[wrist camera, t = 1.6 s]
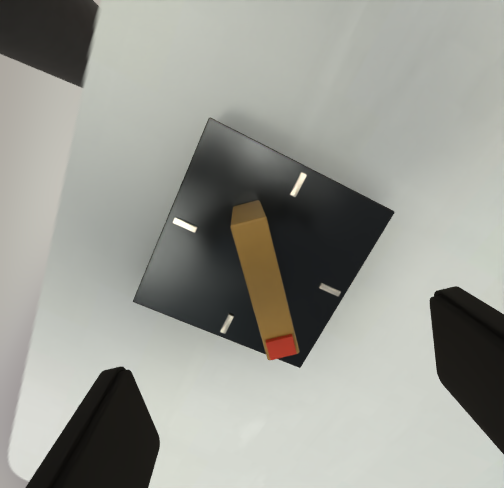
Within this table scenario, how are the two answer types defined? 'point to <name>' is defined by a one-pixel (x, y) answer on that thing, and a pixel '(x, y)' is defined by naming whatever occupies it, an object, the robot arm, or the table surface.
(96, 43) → the table surface
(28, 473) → the table surface
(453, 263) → the table surface
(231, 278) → the dial pointer knob base
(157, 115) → the table surface
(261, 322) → the dial pointer knob
